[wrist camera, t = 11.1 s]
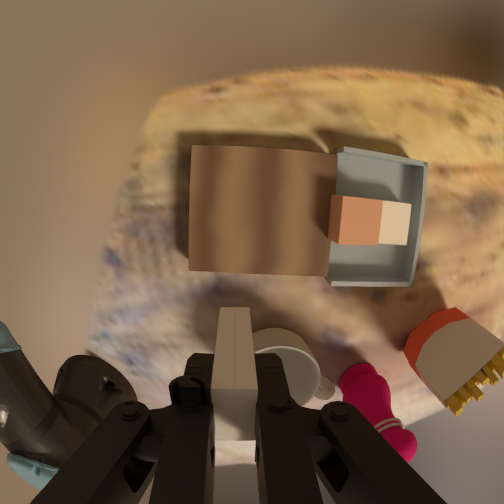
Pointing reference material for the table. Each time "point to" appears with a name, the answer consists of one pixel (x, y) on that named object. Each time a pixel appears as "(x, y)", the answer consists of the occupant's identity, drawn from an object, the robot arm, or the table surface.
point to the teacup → (295, 364)
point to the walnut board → (260, 210)
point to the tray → (384, 188)
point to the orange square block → (354, 220)
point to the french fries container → (454, 357)
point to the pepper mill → (377, 406)
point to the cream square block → (394, 223)
